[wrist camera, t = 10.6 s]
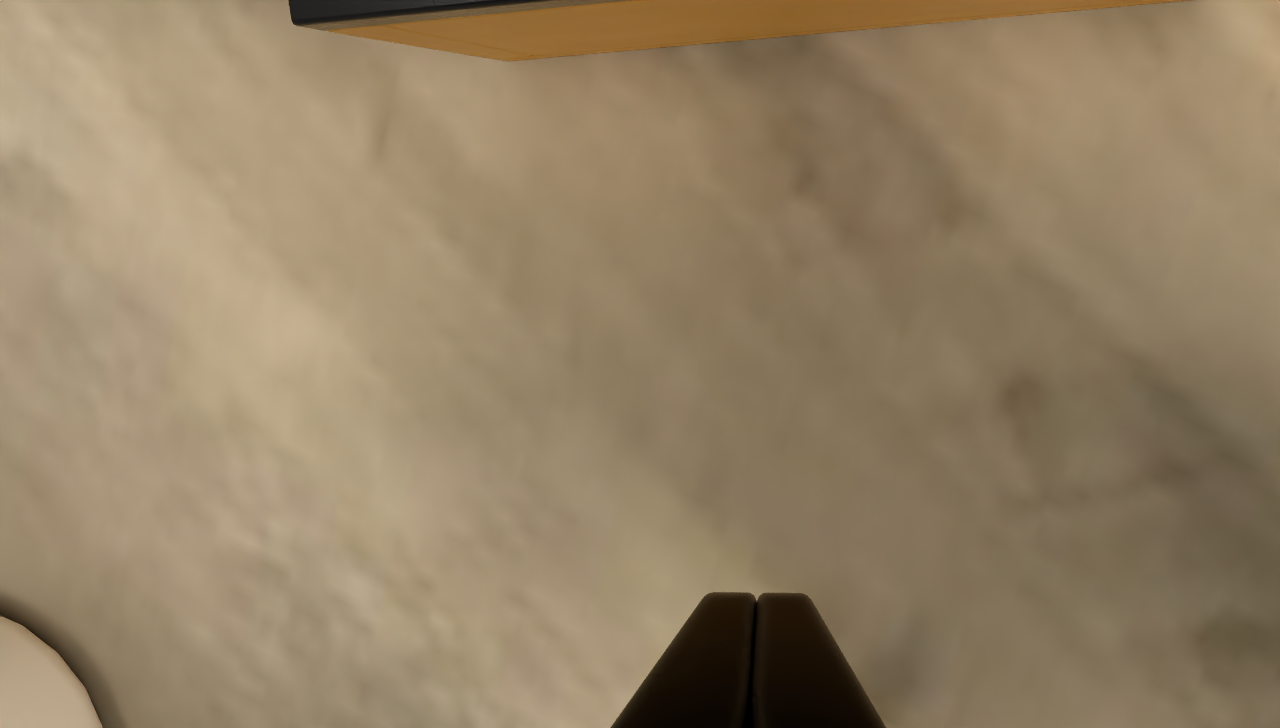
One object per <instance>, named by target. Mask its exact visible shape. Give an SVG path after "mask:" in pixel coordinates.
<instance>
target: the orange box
mask: <svg viewBox="0 0 1280 728" xmlns="http://www.w3.org/2000/svg"><path fill="white" fill-rule="evenodd" d="M1177 1H1188V0H631V1H620V2H610V3H600V4H590V5H580V6H570V7H560V8H550V9H539V10H529V11H519V12H509V13H499V14H489V15H479V16H468V17H458V18H448V19H438V20H428V21H418V22H408V23H398V24H387V25H377V26H367V27H357V28H347V29H337V30H327V31H329V32H334V33H340V34H346V35H352V36H358V37H364V38H370V39H376V40H382V41H388V42H394V43H400V44H406V45H412V46H418V47H424V48H430V49H436V50H442V51H448V52H454V53H460V54H466V55H472V56H478V57H484V58H490V59H497V60H502V61H517V60H528V59H539V58H551V57H562V56H573V55H584V54H595V53H606V52H618V51H629V50H640V49H651V48H662V47H674V46H685V45H696V44H707V43H718V42H730V41H741V40H752V39H763V38H774V37H785V36H797V35H808V34H819V33H830V32H841V31H853V30H864V29H875V28H886V27H897V26H909V25H920V24H931V23H942V22H953V21H964V20H976V19H987V18H998V17H1009V16H1020V15H1032V14H1043V13H1054V12H1065V11H1076V10H1088V9H1099V8H1110V7H1121V6H1132V5H1143V4H1155V3H1166V2H1177Z"/></svg>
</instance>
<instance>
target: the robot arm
mask: <svg viewBox="0 0 1280 728" xmlns="http://www.w3.org/2000/svg"><path fill="white" fill-rule="evenodd" d="M611 728H886V727H885V725H884V723H883V721H882V720H881V718H880V716H879V715H878V713H877V711H876V710H875V708H874V706H873V704H872V703H871V701H870V699H869V698H868V696H867V694H866V692H865V691H864V689H863V687H862V686H861V684H860V682H859V680H858V679H857V677H856V675H855V674H854V672H853V670H852V668H851V667H850V665H849V663H848V662H847V660H846V658H845V656H844V655H843V653H842V651H841V650H840V648H839V646H838V645H837V643H836V641H835V639H834V638H833V636H832V634H831V633H830V631H829V629H828V627H827V626H826V624H825V622H824V621H823V619H822V617H821V615H820V614H819V612H818V610H817V609H816V607H815V605H814V603H813V602H812V600H811V599H810V598H809V597H808V596H807V595H805V594H803V593H763V594H761V595H760V596H759V598H758V600H756V598H755V597H754V595H752V594H751V593H741V592H713V593H709V594H707V595H706V596H704V598H703V599H702V600H701V601H700V603H699V604H698V606H697V607H696V608H695V610H694V611H693V613H692V614H691V616H690V617H689V618H688V620H687V621H686V623H685V624H684V625H683V627H682V628H681V630H680V631H679V632H678V634H677V635H676V637H675V638H674V639H673V641H672V642H671V644H670V645H669V646H668V648H667V649H666V651H665V652H664V653H663V655H662V656H661V658H660V659H659V660H658V662H657V663H656V665H655V666H654V667H653V669H652V670H651V672H650V673H649V674H648V676H647V677H646V679H645V680H644V681H643V683H642V684H641V686H640V687H639V689H638V690H637V691H636V693H635V694H634V696H633V697H632V698H631V700H630V701H629V703H628V704H627V705H626V707H625V708H624V710H623V711H622V712H621V714H620V715H619V717H618V718H617V719H616V721H615V722H614V724H613V725H612V726H611Z"/></svg>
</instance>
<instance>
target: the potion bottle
mask: <svg viewBox="0 0 1280 728" xmlns="http://www.w3.org/2000/svg"><path fill="white" fill-rule="evenodd" d="M0 728H103V727H102V724H101V722H100V720H99V718H98V715H97V713H96V711H95V709H94V706H93V704H92V702H91V700H90V697H89V695H88V693H87V691H86V688H85V687H84V685H83V684H82V683H81V682H80V680H79V679H78V678H77V677H76V675H75V674H74V673H73V672H72V670H71V669H70V668H69V666H68V665H67V664H66V663H65V661H64V660H63V659H62V658H61V656H60V655H59V654H58V653H57V652H56V651H55V650H53V649H52V648H51V647H50V646H48V645H47V644H46V643H44V642H43V641H42V640H41V639H39V638H38V637H37V636H35V635H34V634H33V633H32V632H30V631H29V630H28V629H26V628H25V627H24V626H23V625H20V624H18V623H16V622H13V621H11V620H9V619H7V618H4V617H2V616H0Z"/></svg>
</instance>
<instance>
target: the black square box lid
mask: <svg viewBox="0 0 1280 728" xmlns="http://www.w3.org/2000/svg"><path fill="white" fill-rule="evenodd" d="M620 1H631V0H289V7H290V13H291V20H292V22H293V24H294V25H297V26H301V27H306V28H312V29H318V30H323V31H327V30H337V29H347V28H357V27H367V26H377V25H387V24H398V23H408V22H418V21H428V20H438V19H448V18H458V17H468V16H479V15H489V14H499V13H509V12H519V11H529V10H539V9H550V8H560V7H570V6H580V5H590V4H600V3H610V2H620Z"/></svg>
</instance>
